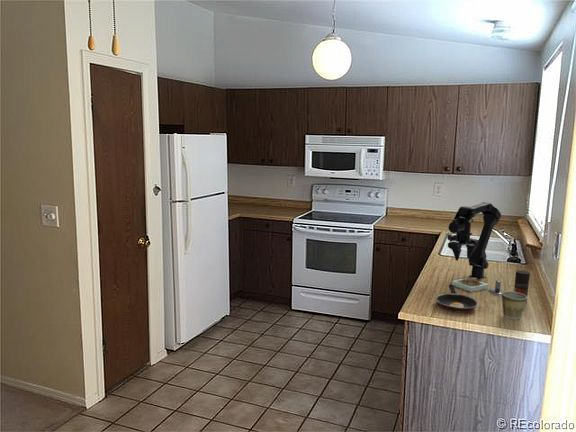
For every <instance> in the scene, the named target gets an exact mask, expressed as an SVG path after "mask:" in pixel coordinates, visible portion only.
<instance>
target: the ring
mask: <svg viewBox="0 0 576 432" xmlns="http://www.w3.org/2000/svg"><path fill="white" fill-rule="evenodd" d="M461 279H462V281H463V284H465V285H467V286H478V285H480V283H479V281H480V279H477V278H472V277H465V278H461Z"/></svg>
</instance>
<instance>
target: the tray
mask: <svg viewBox="0 0 576 432" xmlns="http://www.w3.org/2000/svg"><path fill="white" fill-rule="evenodd" d="M462 279H463V278H461V279H456V280H452V282H451V284H452V285H453V286H454V287H457V288H458V289H462V290H464V291H467V292H469V293H474V292H477V291H478V292H479V291H482V290H487V289H488V290H489V284H488V283H486V282H482V281H480V280H479V283H480V285H478V286H467V285H465V284H463V281H462Z"/></svg>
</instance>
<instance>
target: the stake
mask: <svg viewBox="0 0 576 432" xmlns="http://www.w3.org/2000/svg"><path fill="white" fill-rule="evenodd" d="M501 283H502V282H501V280H495V284H494V288H490V289H488V293H490V294H493V295H498V296H499V295H500V296H502V293H503V292H506V291H504V290H503V289H501V285H502V284H501Z"/></svg>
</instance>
